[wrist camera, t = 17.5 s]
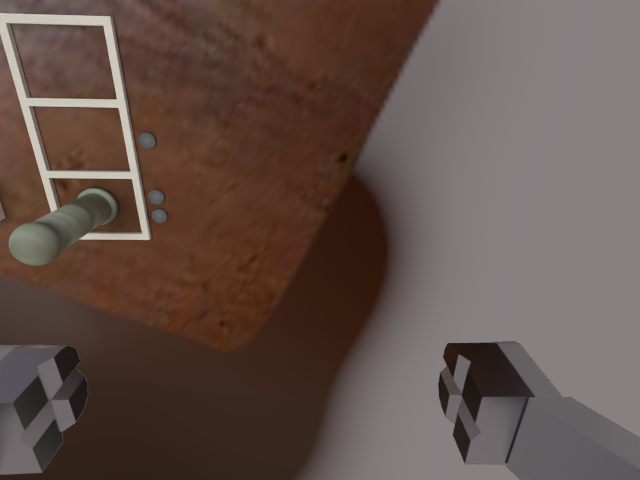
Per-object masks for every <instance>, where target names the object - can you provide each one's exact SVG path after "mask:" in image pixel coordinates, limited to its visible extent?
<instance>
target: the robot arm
mask: <svg viewBox="0 0 640 480" xmlns="http://www.w3.org/2000/svg"><path fill="white" fill-rule="evenodd" d="M443 358H444V360H445V362H446V365H447V367H446V368H445V369H444V370H443V371H442V372H440V377H439V383H438V388H439V398H440V402H441V407H442V409H443V412H444V414H445V417H446V418H448V419H449V420H450V421H451V422H452V423H454V424H455V427H454V431H453V437H454V439H455V441H456V444H457V446H458V448H459V451H460V453H461V456H462V458H463V461H464V463H465V464H502V465H505V464H506V465H507V468H508V469H509V470H510V471H511V472H512V473H513V474H514V475H515V476H517V477H518V478H519V479H520V480H640V437H638V436H637V435H635V434H633V433H631V432H630V431H628V430H626V429H624V428H623V427H621V426H619V425H618V424H616V423H614V422H612V421H611V420H609V419H607V418H606V417H604V416H602V415H600V414H599V413H597V412H595V411H594V410H592V409H590V408H588V407H587V406H585V405H583V404H582V403H580V402H578V401H576V400H575V399H573V398H571V397H562V395H561V394H560V393H559V392H558V390H557V389H556V388H555V386H554V385H553V384H552V383H551V382H550V380H549V379H548V378H547V377H546V375H545V374H544V373H543V372H542V370H541V369H540V368H539V367H538V366H537V364H536V363H535V362H534V361H533V359H532V358H531V357H530V356H529V354H528V353H527V352H526V351H525V350H524V348H523V347H522V346H521V345H520V344H519V343H517V342H515V341H507V342H506V341H505V342H492V343H448V344H447V346H446V348H445V350H444V356H443ZM79 362H80V358H79V356H78V353H77V350H76V349H75V348H74V347H71V346H60V345H56V346H55V345H54V346H53V345H0V475H2V474H23V473H42V472H43V470H44V469H45V468H46V466H47V465H48V463H49V462H50V460H51V459H52V457H53V456H54V454H55V453H56V451H57V450H58V448H59V447H60V445H61V444H62V442H63V437H62V431H64V430H65V429H67V428H68V427H70V426H71V425H73V424H74V423H76V421H77V420H78V418H79V416H80V415H81V413H82V412H83V410H84V407H85V404H86V400H87V397H88V384H87V381H86V377H85V376H84V375H83V374H82V373H80V372H79V371H78V370H77V369H76V367H77V365H78V364H79Z"/></svg>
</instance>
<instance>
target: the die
mask: <svg viewBox="0 0 640 480" xmlns="http://www.w3.org/2000/svg"><path fill="white" fill-rule="evenodd" d="M5 218H6V217H5V214H4V211H3V208H2V205H1V202H0V221H1V220H3V219H5Z"/></svg>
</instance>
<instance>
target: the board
mask: <svg viewBox="0 0 640 480" xmlns="http://www.w3.org/2000/svg"><path fill="white" fill-rule="evenodd" d="M10 24H41V25H78V26H104V31H105V37H106V42H107V47H108V53H109V58H110V64H111V69H112V74H113V80H114V85H115V90H116V96H117V99H73V98H30V95H29V91H28V87H27V84H26V80H25V76H24V73H23V69H22V65H21V62H20V58H19V54H18V51H17V47H16V43H15V40H14V36H13V32H12V29H11V25H10ZM0 34H1V38H2V41H3V45H4V48H5V52H6V55H7V59H8V62H9V66H10V69H11V73H12V76H13V80H14V83H15V87H16V90H17V94H18V97H19V101H20V104H21V108H22V111H23V115H24V118H25V122H26V125H27V129H28V132H29V136H30V139H31V143H32V146H33V150H34V153H35V157H36V160H37V164H38V167H39V171H40V174H41V178H42V181H43V185H44V188H45V192H46V195H47V199H48V202H49V206H50V209H51V212H53V211H55V210H57V209H59V208H60V204H59V201H58V197H57V193H56V190H55V186H54V182H53V179H52V178H99V179H132V182H133V187H134V193H135V198H136V203H137V209H138V214H139V219H140V225H141V230H142V232H89V233H87V234H86V235H84V236H83V237H82V238H80V239H105V240H150V239H151V238H152V237H151V231H150V226H149V220H148V214H147V208H146V203H145V197H144V191H143V186H142V180H141V174H140V169H139V163H138V157H137V152H136V146H135V140H134V135H133V129H132V123H131V117H130V112H129V106H128V100H127V95H126V89H125V83H124V78H123V72H122V66H121V61H120V55H119V49H118V44H117V38H116V32H115V26H114V21H113V17H110V16H78V15H42V14H6V13H0ZM33 106H56V107H110V108H119V112H120V117H121V123H122V128H123V133H124V139H125V144H126V150H127V155H128V160H129V166H130V171H105V170H50V168H49V164H48V160H47V157H46V153H45V149H44V146H43V142H42V138H41V135H40V131H39V127H38V124H37V120H36V117H35V113H34V109H33ZM139 143H140V145H141V146H142V147H144V148H146V149H151V148H153V147H154V146H155V145H156V138H155V137H154V135H153V134H151V133H149V132H144V133H142V134H141V135H140V136H139ZM148 197H149V200H150V201H151V202H152V203H153V204H156V205H158V204H161V203H162V202H163V201H164V200H165V196H164V194H163V192H162V191H160V190H157V189H155V190H152V191H151V192H150V193H149V195H148ZM152 218H153V220H154V221H155V222H157V223H164V222H165V221H166V220H167V218H168V215H167V213H166V211H165V210H163V209H155V210H154V211H153V212H152Z"/></svg>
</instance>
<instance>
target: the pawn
mask: <svg viewBox="0 0 640 480" xmlns="http://www.w3.org/2000/svg"><path fill="white" fill-rule="evenodd" d="M118 212H119V205H118V202H117V200H116V198H115V197H114V195H113V194H112V193H110V192H109V191H107V190H105V189H103V188H99V187H93V188H89V189H87V190H85V191H83V192H82V193H80V194H79V196H78V197H77V199H76V200H74V201H72V202H70V203H68V204H66V205H64V206H63V207H61V208H59V209H57V210H55V211H53V212H51V213H49V214H47V215H45V216H43V217H42V218H40V219H38V220H36V221H34V222H30V223H26V224H23V225H21V226H19V227H18V228H16V229H15V230H14V231H13V233H12V234H11V236H10V239H9V249H10V251H11V253H12V255H13V256H14V257H15V258H16V259H17V260H19V261H21V262H23V263H25V264H29V265H43V264H46V263H49V262H51V261H53V260H54V259H56V258H57V257H58V256H59V254H60V253H61V252H62V251H63V250H65V249H66V248H67V247H69V246H70V245H72V244H73V243H75V242H76V241H77V240H79V239H80V238H82V237H83V236H84V235H86V234H87V233H89V232H90V231H92V230H93V229H94V228H96V227H97V226H99V225H104V224H107V223H109V222H110V221H112V220H113V219H114V218H116V216H117V215H118Z"/></svg>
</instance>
